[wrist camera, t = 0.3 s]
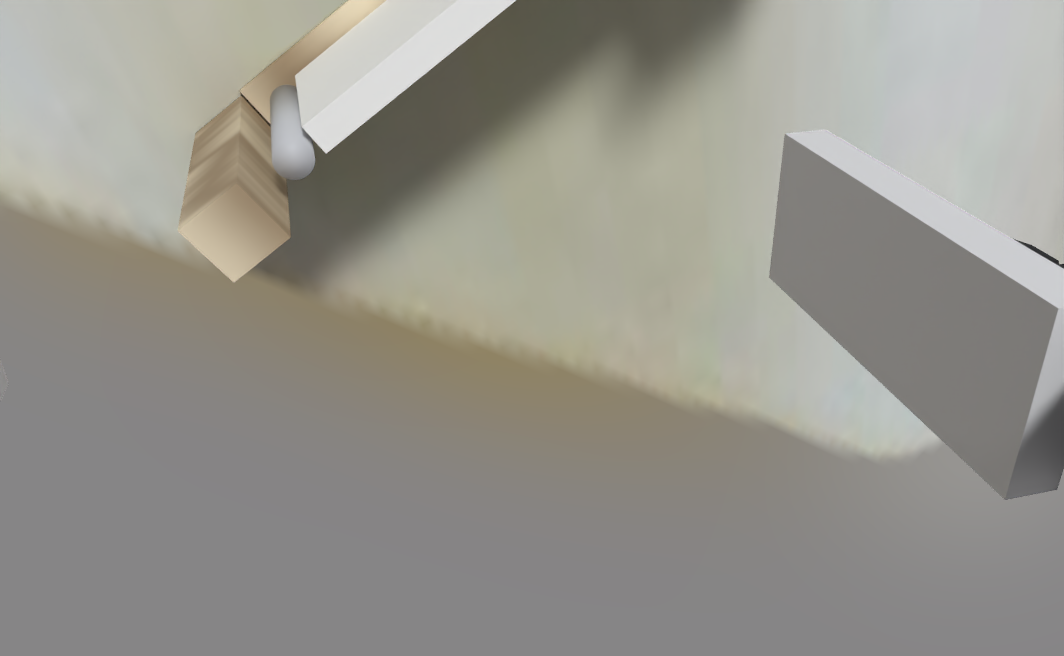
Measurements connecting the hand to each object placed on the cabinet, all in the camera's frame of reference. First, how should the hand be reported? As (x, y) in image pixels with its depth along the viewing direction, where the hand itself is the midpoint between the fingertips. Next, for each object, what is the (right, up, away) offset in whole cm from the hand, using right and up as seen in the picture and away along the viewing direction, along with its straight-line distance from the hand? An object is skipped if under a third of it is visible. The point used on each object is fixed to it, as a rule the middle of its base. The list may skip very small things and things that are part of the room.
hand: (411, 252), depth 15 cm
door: (-1, +12, +22) cm, 25 cm away
